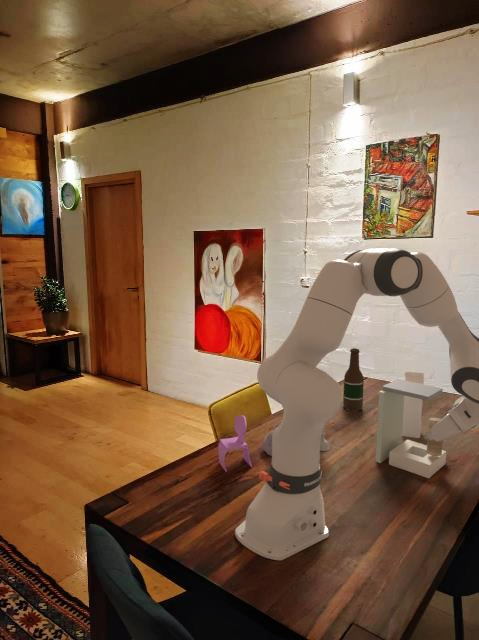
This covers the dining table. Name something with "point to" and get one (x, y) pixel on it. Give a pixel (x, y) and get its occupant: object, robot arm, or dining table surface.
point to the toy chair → (235, 442)
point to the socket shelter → (390, 429)
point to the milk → (412, 408)
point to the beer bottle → (353, 384)
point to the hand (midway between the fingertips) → (433, 434)
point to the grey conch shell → (268, 442)
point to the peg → (432, 445)
